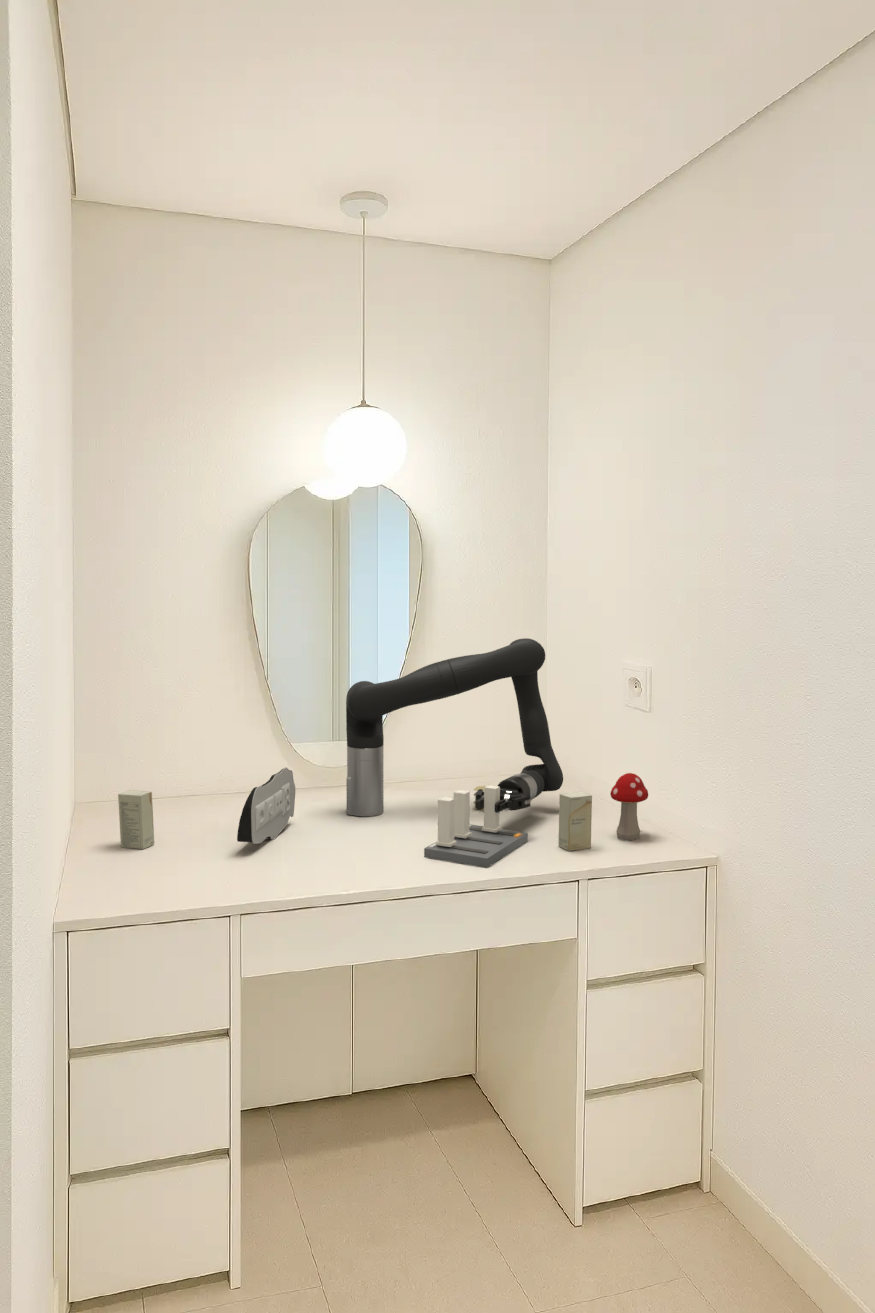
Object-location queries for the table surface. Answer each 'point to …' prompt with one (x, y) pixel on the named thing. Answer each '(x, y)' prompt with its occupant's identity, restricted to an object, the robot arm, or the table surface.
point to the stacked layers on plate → (476, 792)
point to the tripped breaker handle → (491, 809)
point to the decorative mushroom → (629, 804)
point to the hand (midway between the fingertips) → (487, 806)
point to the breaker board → (469, 836)
